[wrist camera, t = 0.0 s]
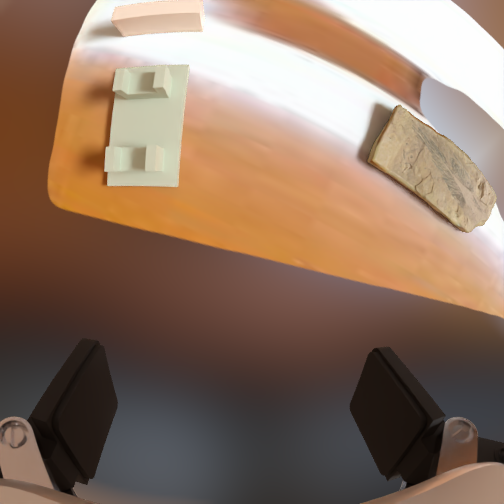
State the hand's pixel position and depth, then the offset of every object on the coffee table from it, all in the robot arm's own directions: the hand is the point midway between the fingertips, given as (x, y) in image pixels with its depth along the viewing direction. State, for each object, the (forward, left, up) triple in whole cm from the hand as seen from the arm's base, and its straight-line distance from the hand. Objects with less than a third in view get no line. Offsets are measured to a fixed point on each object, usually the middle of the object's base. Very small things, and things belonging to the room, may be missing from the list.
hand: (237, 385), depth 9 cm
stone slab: (-11, +35, -32) cm, 49 cm away
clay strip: (-29, -12, -31) cm, 44 cm away
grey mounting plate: (-13, -12, -31) cm, 36 cm away
